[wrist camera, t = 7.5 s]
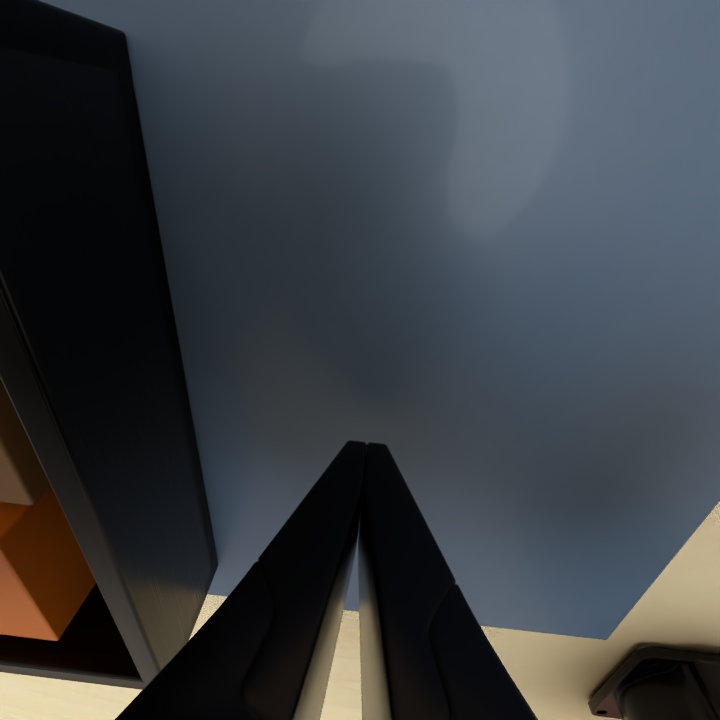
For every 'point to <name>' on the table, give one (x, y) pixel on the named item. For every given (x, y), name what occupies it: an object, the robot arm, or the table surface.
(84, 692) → the table surface
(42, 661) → the black open tray
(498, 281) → the blue flat slab
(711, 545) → the table surface
